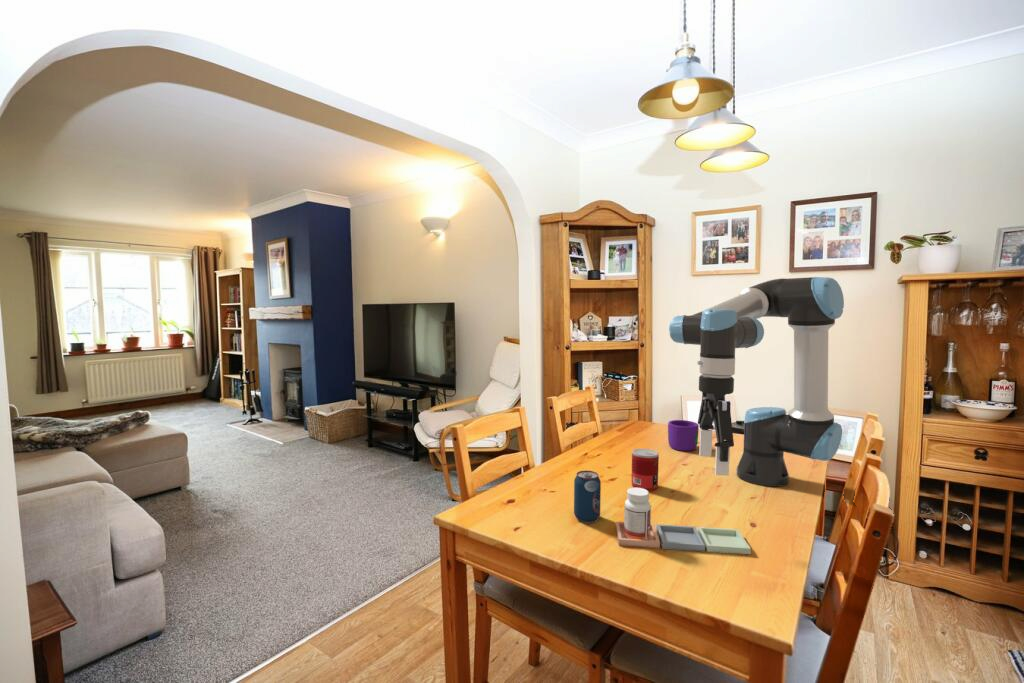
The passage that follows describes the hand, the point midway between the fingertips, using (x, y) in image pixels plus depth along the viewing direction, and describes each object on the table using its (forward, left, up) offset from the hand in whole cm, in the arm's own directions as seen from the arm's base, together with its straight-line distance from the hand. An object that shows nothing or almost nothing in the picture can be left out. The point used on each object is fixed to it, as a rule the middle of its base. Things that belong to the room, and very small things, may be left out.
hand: (712, 464), depth 114 cm
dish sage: (-3, 0, -19) cm, 19 cm away
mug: (-10, -80, -19) cm, 83 cm away
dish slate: (+7, 0, -19) cm, 20 cm away
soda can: (+29, -9, -19) cm, 36 cm away
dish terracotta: (+17, 0, -19) cm, 26 cm away
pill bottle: (+17, 0, -19) cm, 26 cm away
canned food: (+11, -34, -19) cm, 41 cm away
